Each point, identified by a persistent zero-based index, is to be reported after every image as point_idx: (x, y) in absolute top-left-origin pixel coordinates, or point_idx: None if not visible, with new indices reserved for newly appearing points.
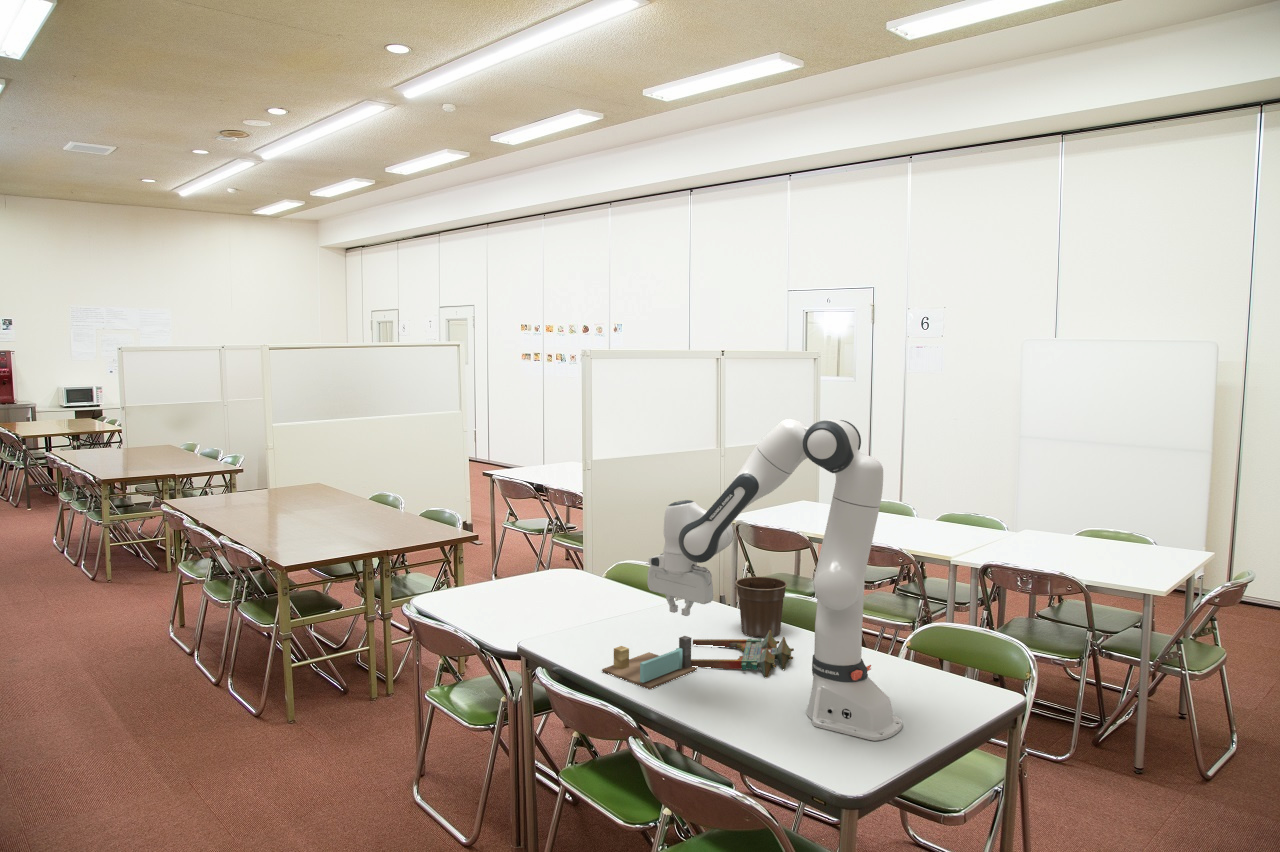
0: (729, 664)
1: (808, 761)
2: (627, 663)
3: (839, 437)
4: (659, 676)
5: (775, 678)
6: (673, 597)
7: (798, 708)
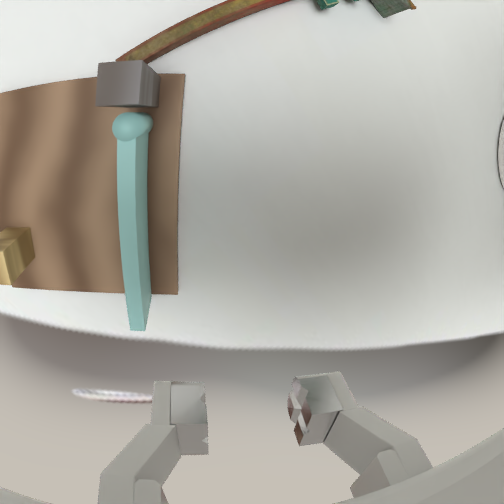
0: (275, 2)
1: (500, 304)
2: (26, 237)
3: None
4: None
5: None
6: (164, 498)
7: (487, 157)
